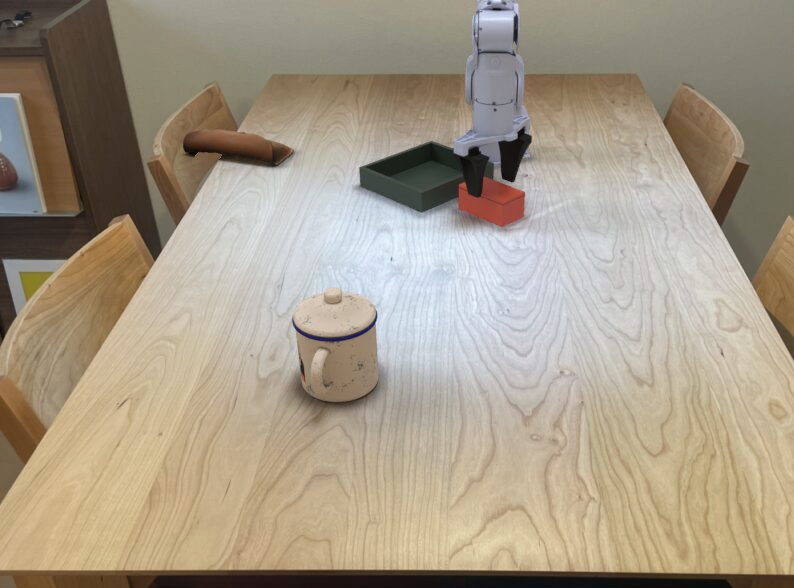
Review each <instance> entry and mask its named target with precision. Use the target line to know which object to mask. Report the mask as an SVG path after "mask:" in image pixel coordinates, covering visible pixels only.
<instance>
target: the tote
mask: <svg viewBox="0 0 794 588" xmlns="http://www.w3.org/2000/svg"><path fill="white" fill-rule="evenodd" d="M453 148H454V147H450V146H447V145H445V144H441V143H439V142H436V141H433V140H429V141H426V142H424V143H422V144H418V145H415V146H412V147H410V148H407V149H405V150H403V151H399V152H397V153H394V154H392V155H389V156H386V157H384V158H380V159H377V160H375V161H373V162H370V163H367V164H364V165H361V166H359V167H358V171H359V172H358V173H359V185H360V187H362V188H364V189H366V190H368V191H371V192H372V193H375V194H377V195H379V196H383V197H384V198H386V199H389V200H391V201H393V202H395V203H399V204H401V205H404V206H405V207H408V208H410V209H412V210H415V211H417V212H420V213H425V212H427V211H429V210H431V209H434V208H437V207H439V206H440V205H443V204H446V203H448V202H450V201H453V200H455V199H458V198H459V188H458V187H459V184H461V183H464V182H465V180H464V176H463V173H462V171H461V168H460V166H459V164H458V163H457V161H456V159H455V158H454V156H453ZM494 170H495V165H494V163H492V162H489V161H488V163H487V165H486V168H485V172H484V177H487V178H489V179H492V180H494V173H495V171H494Z"/></svg>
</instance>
